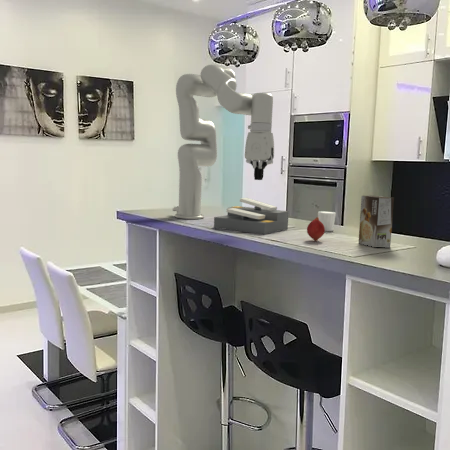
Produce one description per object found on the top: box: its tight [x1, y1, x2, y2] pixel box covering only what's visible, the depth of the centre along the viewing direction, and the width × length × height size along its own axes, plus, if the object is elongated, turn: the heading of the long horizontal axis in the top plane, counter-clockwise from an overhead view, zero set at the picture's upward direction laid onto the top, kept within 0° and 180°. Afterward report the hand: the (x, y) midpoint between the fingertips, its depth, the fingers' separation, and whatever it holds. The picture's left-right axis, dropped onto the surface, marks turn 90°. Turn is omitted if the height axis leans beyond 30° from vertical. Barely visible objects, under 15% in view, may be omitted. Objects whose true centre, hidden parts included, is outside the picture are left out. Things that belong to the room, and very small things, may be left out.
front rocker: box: [225, 207, 265, 219], centre depth 188 cm, size 14×5×1 cm, turn 56°
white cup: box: [317, 210, 337, 232], centre depth 197 cm, size 7×7×7 cm
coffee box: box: [358, 195, 395, 248], centre depth 164 cm, size 9×6×16 cm
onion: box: [306, 216, 326, 242], centre depth 169 cm, size 6×6×8 cm
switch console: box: [213, 205, 290, 235], centre depth 192 cm, size 22×18×8 cm
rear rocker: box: [239, 197, 278, 211], centre depth 195 cm, size 14×5×1 cm, turn 56°
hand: (258, 179), depth 184 cm, fingers closed
